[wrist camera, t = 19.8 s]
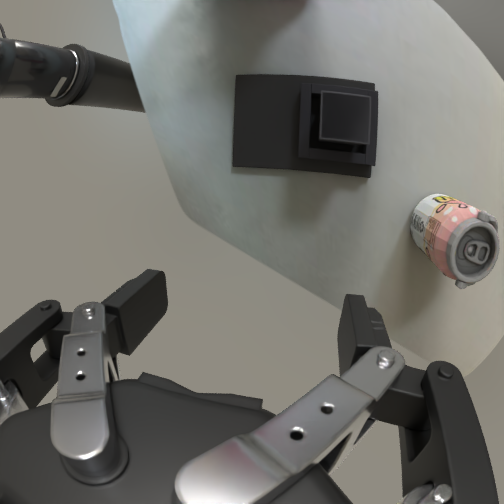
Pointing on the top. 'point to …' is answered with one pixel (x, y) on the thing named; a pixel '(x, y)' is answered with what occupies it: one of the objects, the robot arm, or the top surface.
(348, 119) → the black tall rectangular block
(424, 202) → the beverage can
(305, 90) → the base pad
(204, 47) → the top surface
